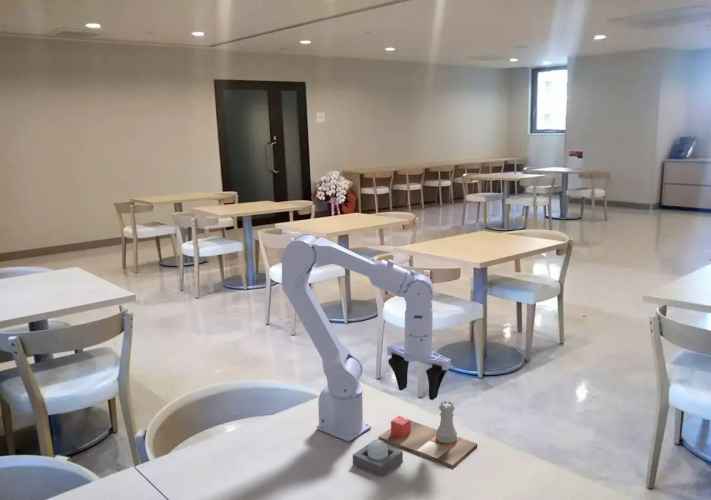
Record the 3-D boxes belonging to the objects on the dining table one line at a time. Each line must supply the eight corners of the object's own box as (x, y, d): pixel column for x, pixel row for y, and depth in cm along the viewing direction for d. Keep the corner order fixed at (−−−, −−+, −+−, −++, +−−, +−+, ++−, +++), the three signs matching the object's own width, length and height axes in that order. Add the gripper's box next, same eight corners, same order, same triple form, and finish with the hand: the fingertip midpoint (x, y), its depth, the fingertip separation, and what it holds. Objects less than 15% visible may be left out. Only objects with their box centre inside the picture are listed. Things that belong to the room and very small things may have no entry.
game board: (378, 439, 125) (378, 436, 125) (405, 421, 132) (405, 418, 132) (452, 467, 114) (452, 464, 114) (477, 446, 121) (477, 443, 121)
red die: (390, 433, 126) (390, 419, 125) (399, 428, 128) (399, 414, 127) (402, 438, 124) (402, 423, 123) (410, 432, 126) (410, 418, 126)
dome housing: (352, 464, 115) (352, 454, 115) (374, 449, 121) (374, 440, 120) (381, 477, 111) (381, 466, 111) (402, 461, 116) (402, 451, 116)
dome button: (363, 462, 115) (363, 441, 115) (375, 453, 118) (375, 433, 118) (379, 469, 113) (379, 448, 112) (392, 460, 116) (391, 439, 115)
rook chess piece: (458, 445, 121) (458, 408, 119) (436, 444, 121) (436, 408, 120) (456, 434, 125) (457, 399, 123) (435, 433, 125) (435, 398, 124)
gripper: (378, 330, 124) (379, 391, 126) (438, 345, 115) (437, 409, 118) (397, 322, 129) (397, 380, 132) (456, 335, 120) (455, 397, 123)
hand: (417, 393), depth 125 cm, fingers open, 7 cm apart
